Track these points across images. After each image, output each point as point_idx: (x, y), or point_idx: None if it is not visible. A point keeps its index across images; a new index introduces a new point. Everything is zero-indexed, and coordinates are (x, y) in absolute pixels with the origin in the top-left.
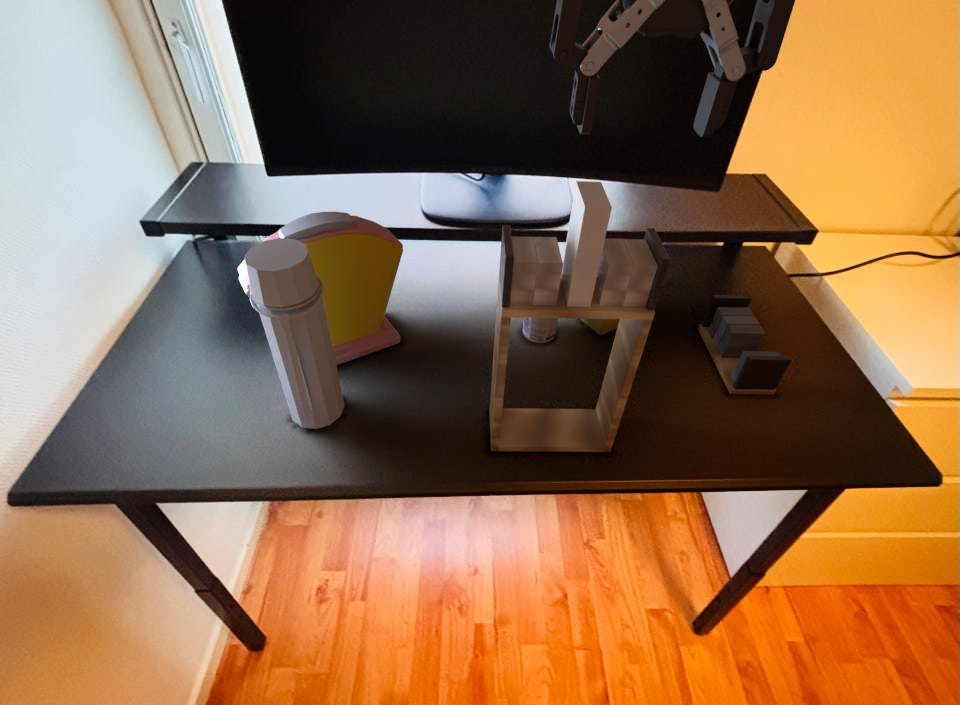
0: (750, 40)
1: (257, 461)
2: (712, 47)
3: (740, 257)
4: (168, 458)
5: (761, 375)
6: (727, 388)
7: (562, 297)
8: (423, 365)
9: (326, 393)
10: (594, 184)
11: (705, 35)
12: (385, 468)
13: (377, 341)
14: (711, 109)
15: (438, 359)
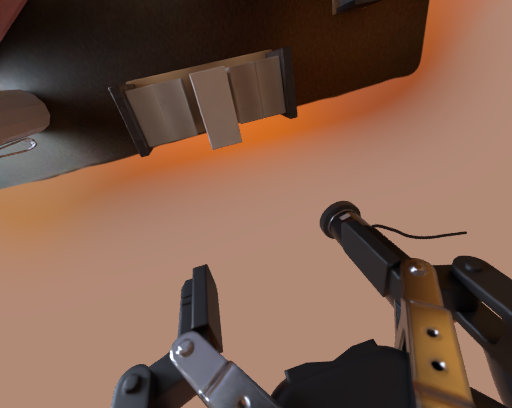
0: (475, 293)
1: (26, 162)
2: (398, 327)
3: None
4: None
5: (359, 6)
6: (332, 7)
7: (200, 111)
8: (75, 30)
9: (30, 127)
10: (216, 79)
11: (401, 335)
12: (112, 146)
13: (7, 11)
14: (361, 270)
15: (84, 16)
